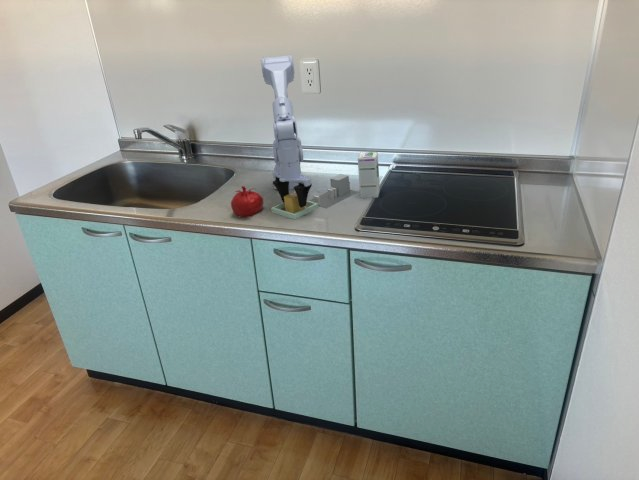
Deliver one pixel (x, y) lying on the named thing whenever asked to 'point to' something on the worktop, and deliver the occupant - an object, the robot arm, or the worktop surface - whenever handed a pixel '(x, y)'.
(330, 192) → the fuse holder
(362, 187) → the syrup box
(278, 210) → the tray
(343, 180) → the grey rectangular block
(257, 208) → the pomegranate
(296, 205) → the block
